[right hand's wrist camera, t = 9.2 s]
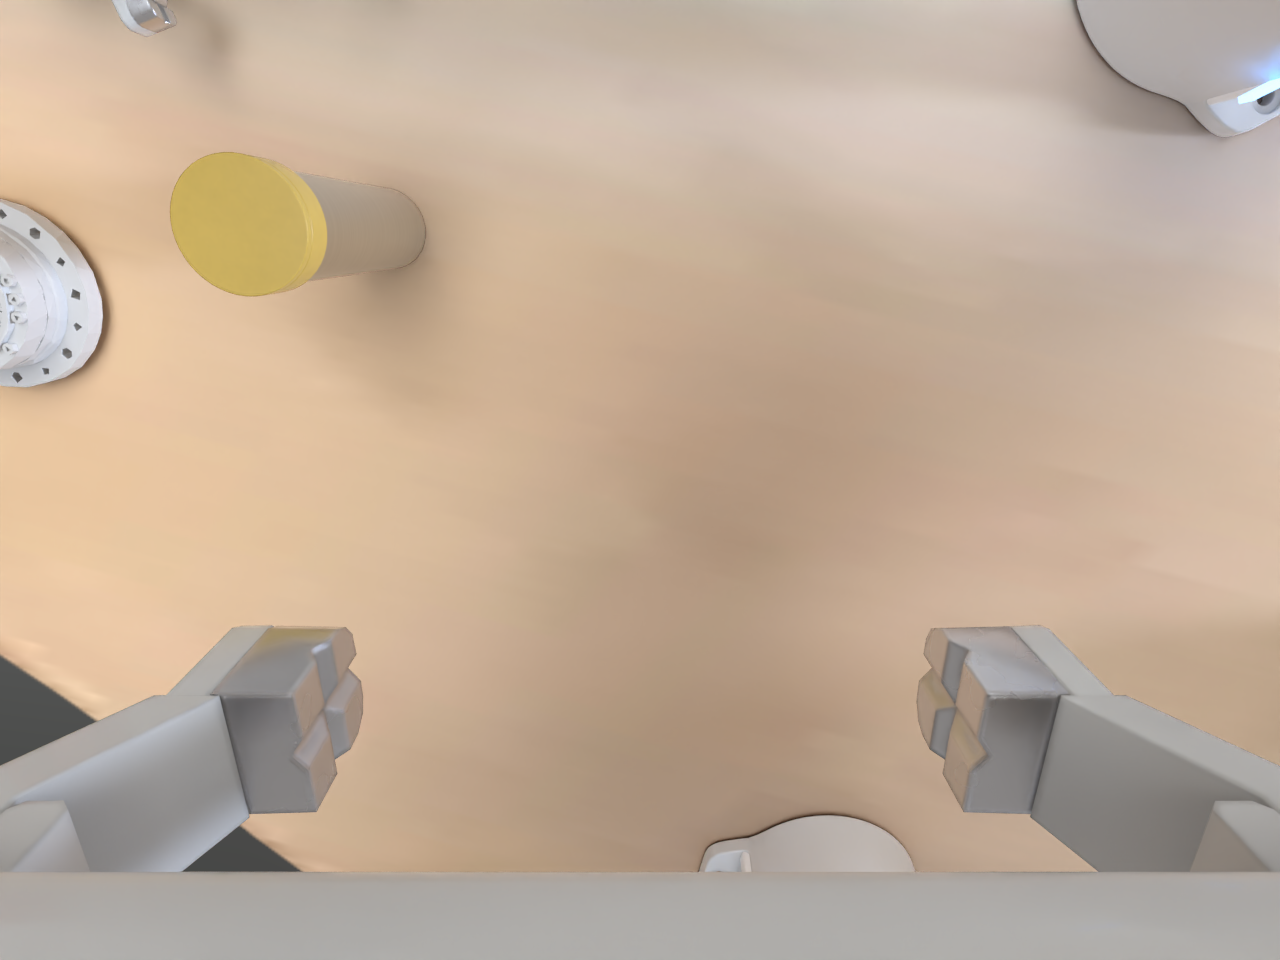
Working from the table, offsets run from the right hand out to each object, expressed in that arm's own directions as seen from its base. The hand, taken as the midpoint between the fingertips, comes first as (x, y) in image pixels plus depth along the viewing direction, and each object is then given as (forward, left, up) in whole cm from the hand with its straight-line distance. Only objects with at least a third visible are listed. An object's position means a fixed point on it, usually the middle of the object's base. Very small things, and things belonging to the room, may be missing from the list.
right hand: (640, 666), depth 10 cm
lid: (0, +15, -18) cm, 23 cm away
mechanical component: (-12, +33, -33) cm, 47 cm away
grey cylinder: (0, +15, -33) cm, 36 cm away
